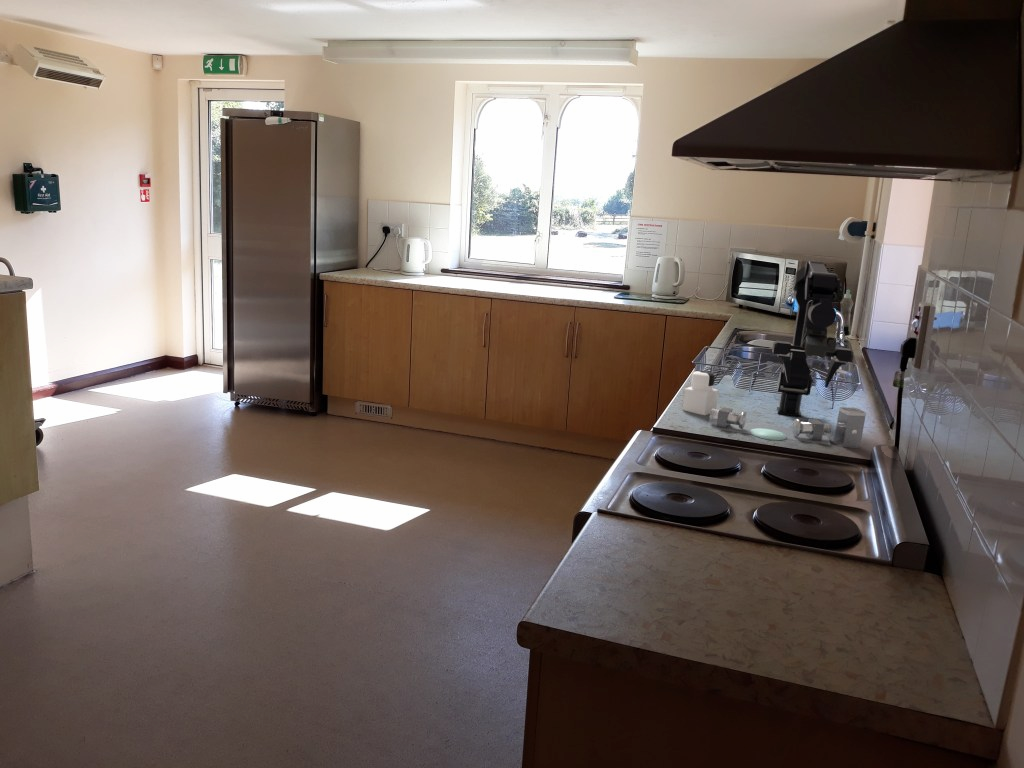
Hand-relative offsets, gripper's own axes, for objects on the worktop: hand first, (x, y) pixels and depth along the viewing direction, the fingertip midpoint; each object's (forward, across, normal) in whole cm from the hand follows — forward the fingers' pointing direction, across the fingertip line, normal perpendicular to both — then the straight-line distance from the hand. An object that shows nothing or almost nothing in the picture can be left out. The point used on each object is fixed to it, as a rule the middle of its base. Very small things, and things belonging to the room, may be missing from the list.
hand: (806, 384), depth 207 cm
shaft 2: (+13, +3, 0) cm, 14 cm away
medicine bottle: (+14, -25, +14) cm, 32 cm away
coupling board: (+14, -8, 0) cm, 16 cm away
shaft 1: (+13, -18, 0) cm, 23 cm away
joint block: (+14, +11, -2) cm, 18 cm away
